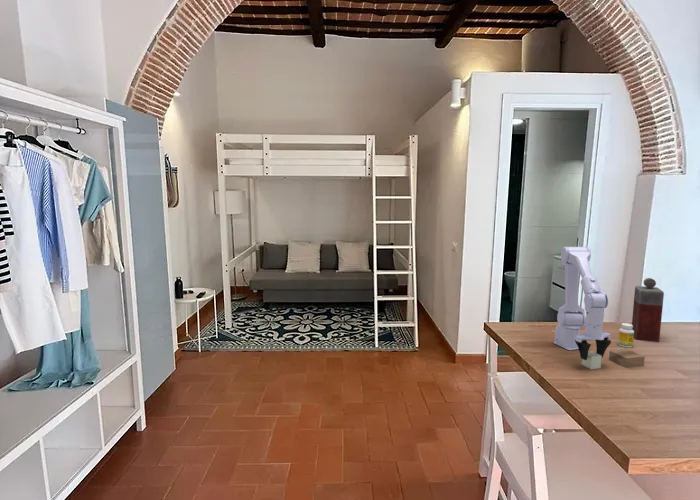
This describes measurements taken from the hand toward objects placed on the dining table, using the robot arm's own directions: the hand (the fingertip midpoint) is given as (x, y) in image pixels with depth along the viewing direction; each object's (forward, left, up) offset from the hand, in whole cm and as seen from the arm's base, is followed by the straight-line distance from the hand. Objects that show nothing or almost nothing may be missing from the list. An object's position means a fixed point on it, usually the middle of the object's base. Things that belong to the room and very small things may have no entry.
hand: (591, 357), depth 153 cm
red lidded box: (-19, +50, -4) cm, 54 cm away
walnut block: (+1, +16, -4) cm, 16 cm away
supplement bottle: (-13, +32, -4) cm, 35 cm away
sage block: (0, 0, -4) cm, 4 cm away
